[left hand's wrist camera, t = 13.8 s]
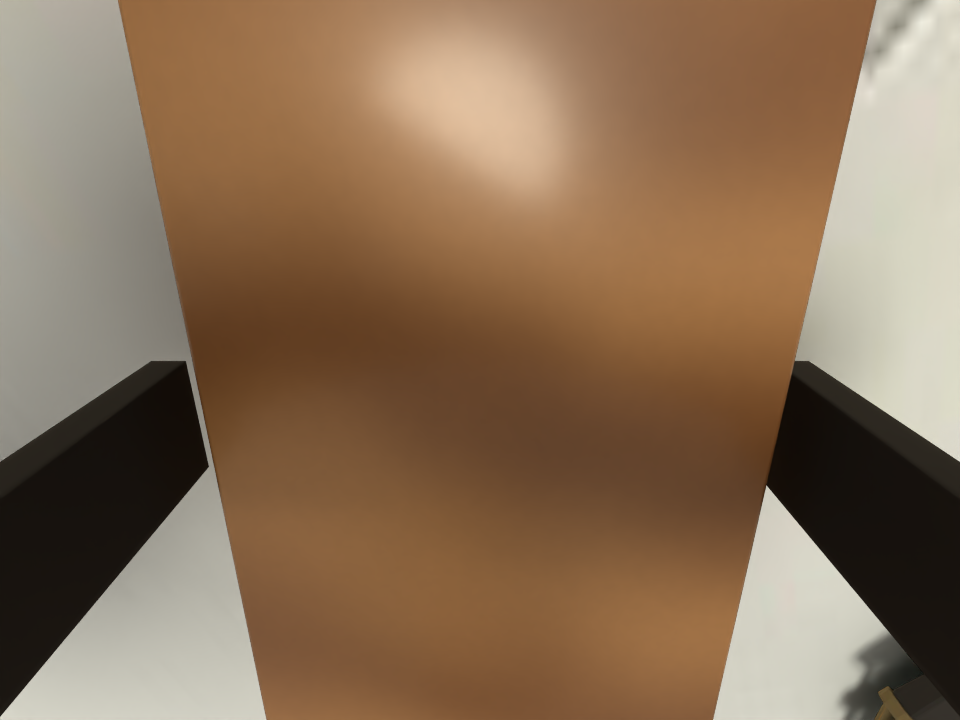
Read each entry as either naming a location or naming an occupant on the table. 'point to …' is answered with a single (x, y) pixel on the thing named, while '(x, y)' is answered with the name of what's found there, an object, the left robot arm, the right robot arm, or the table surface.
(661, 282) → the wide beam
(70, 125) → the table surface
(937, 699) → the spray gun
